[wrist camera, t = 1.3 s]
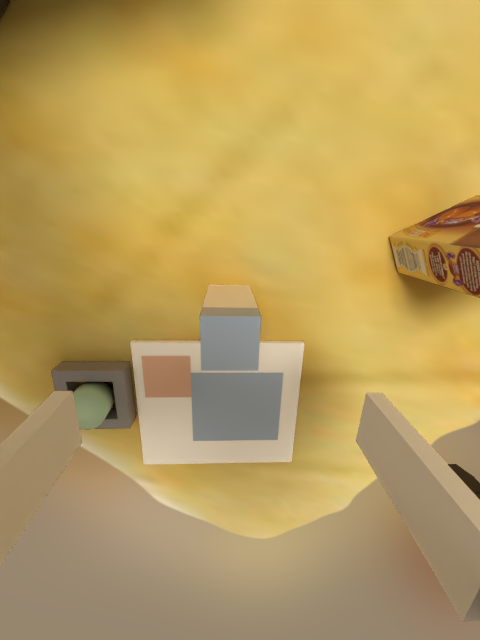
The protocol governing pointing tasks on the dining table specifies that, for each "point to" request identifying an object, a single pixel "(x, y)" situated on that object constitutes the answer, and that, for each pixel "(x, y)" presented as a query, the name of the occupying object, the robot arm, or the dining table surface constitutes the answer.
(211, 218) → the dining table surface
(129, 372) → the button housing
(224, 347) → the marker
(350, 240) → the dining table surface
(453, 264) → the candy box
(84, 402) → the button
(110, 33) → the dining table surface
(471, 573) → the robot arm
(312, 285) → the dining table surface
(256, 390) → the picture card
